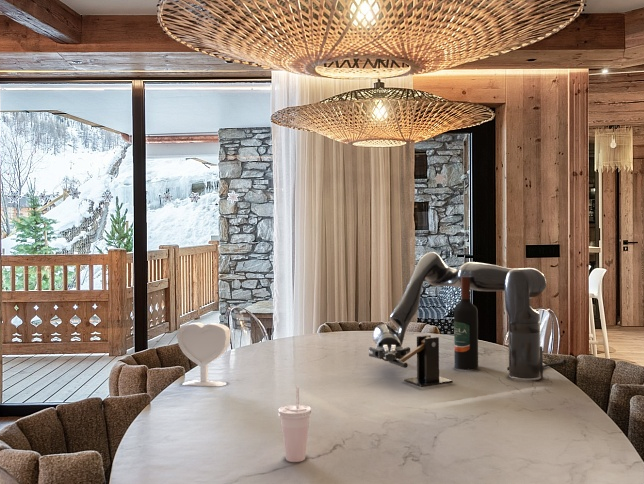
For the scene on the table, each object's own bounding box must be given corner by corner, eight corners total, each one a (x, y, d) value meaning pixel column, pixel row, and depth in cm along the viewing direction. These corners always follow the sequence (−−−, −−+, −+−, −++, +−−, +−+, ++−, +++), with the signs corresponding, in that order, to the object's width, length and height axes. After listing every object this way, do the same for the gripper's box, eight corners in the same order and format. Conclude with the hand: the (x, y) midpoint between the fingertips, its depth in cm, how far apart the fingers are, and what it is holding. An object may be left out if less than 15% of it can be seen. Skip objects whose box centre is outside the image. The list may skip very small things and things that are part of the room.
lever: (405, 370, 169) (402, 363, 168) (390, 365, 176) (387, 358, 175) (440, 346, 174) (437, 338, 174) (425, 342, 181) (422, 335, 181)
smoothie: (305, 466, 114) (304, 391, 114) (273, 462, 115) (272, 389, 115) (316, 454, 120) (315, 383, 120) (286, 451, 122) (285, 382, 121)
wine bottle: (481, 371, 193) (480, 277, 193) (458, 372, 192) (457, 277, 192) (473, 366, 201) (472, 276, 200) (451, 367, 199) (450, 276, 199)
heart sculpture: (176, 384, 179) (175, 324, 179) (184, 380, 184) (183, 321, 184) (225, 386, 176) (224, 325, 176) (232, 382, 181) (231, 322, 181)
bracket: (421, 389, 170) (420, 340, 170) (404, 383, 178) (403, 336, 178) (452, 384, 176) (452, 337, 176) (434, 378, 184) (434, 333, 184)
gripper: (410, 358, 188) (413, 370, 171) (367, 358, 188) (367, 370, 171) (410, 334, 188) (413, 344, 171) (367, 334, 188) (366, 344, 171)
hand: (390, 357), depth 171 cm, fingers closed
